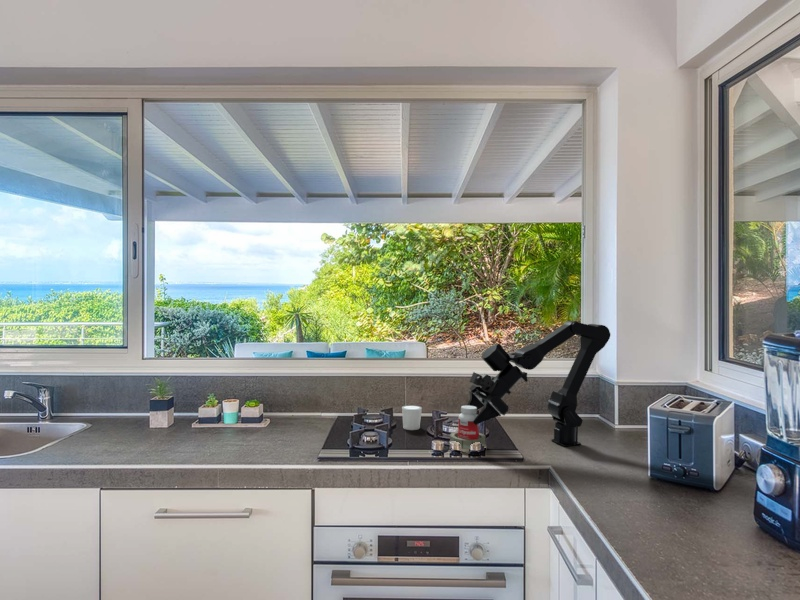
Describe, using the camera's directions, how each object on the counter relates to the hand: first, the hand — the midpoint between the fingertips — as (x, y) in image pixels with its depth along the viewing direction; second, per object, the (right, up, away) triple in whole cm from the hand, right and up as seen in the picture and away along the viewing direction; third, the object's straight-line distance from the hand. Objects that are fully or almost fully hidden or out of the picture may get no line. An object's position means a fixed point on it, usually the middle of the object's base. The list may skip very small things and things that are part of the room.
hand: (468, 419), depth 148 cm
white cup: (-17, -8, +21) cm, 28 cm away
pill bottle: (0, -8, 0) cm, 7 cm away
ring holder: (0, -8, 0) cm, 8 cm away
